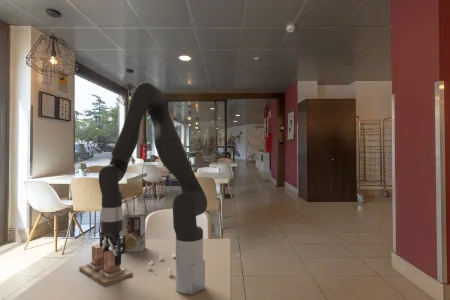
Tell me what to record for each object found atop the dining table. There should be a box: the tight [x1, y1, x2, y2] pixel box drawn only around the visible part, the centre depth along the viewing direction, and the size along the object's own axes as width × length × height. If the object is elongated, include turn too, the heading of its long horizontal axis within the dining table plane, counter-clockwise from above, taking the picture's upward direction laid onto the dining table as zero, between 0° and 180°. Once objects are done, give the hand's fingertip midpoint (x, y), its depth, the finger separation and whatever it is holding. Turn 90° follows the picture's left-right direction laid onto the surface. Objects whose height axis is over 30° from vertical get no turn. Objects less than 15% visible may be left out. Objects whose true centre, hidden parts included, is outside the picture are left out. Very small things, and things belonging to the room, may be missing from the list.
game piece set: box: [147, 251, 176, 277], centre depth 117 cm, size 19×20×4 cm
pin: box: [104, 249, 121, 274], centre depth 107 cm, size 4×4×8 cm
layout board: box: [78, 243, 134, 287], centre depth 110 cm, size 20×11×9 cm, turn 49°
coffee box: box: [121, 213, 147, 253], centre depth 135 cm, size 9×6×16 cm
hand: (112, 262), depth 107 cm, fingers open, 8 cm apart
